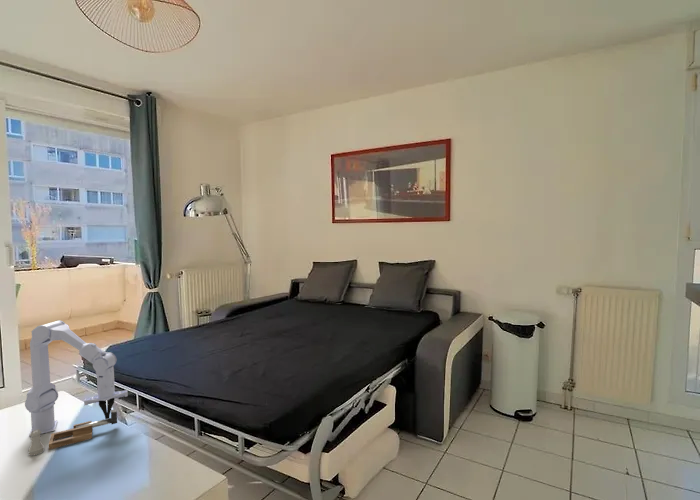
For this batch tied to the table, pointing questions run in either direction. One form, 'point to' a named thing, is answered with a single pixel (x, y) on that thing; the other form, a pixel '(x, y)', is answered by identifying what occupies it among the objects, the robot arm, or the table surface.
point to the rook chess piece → (36, 443)
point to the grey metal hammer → (103, 422)
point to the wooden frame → (77, 433)
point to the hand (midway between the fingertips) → (107, 417)
